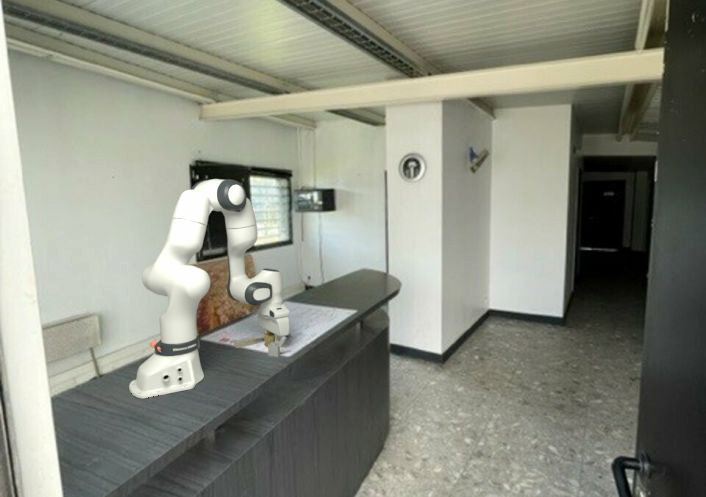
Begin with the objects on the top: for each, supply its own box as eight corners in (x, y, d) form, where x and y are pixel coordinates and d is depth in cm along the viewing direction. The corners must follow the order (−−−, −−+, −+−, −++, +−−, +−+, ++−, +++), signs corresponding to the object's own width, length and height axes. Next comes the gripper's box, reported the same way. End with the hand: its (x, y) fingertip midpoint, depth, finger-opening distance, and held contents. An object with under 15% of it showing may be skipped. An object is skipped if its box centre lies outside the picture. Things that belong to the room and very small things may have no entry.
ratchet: (239, 349, 170) (238, 336, 170) (232, 344, 176) (231, 331, 175) (293, 336, 186) (293, 323, 185) (285, 332, 191) (285, 320, 191)
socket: (270, 348, 171) (270, 336, 170) (264, 345, 175) (264, 333, 174) (281, 345, 174) (281, 334, 174) (275, 342, 178) (275, 330, 177)
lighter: (268, 355, 164) (267, 335, 163) (270, 354, 165) (269, 334, 164) (285, 357, 162) (284, 337, 161) (287, 356, 164) (286, 335, 162)
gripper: (253, 304, 179) (254, 336, 180) (277, 315, 163) (278, 350, 165) (266, 301, 183) (267, 333, 184) (291, 312, 167) (292, 346, 169)
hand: (272, 341), depth 174 cm, fingers closed on socket, 5 cm apart
